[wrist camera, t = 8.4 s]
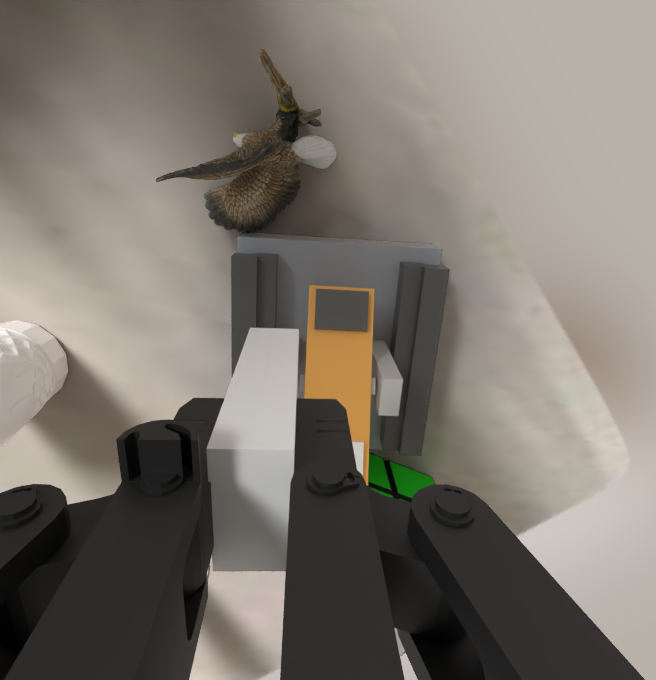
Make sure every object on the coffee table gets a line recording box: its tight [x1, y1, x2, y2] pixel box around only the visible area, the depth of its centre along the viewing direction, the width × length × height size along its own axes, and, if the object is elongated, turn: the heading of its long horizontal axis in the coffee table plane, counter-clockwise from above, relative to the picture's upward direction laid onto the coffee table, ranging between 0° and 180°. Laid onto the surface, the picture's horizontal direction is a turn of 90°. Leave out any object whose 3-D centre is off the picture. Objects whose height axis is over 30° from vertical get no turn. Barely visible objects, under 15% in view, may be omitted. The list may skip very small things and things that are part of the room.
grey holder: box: [231, 232, 449, 456], centre depth 31 cm, size 16×14×10 cm
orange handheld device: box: [300, 285, 375, 486], centre depth 28 cm, size 12×5×2 cm, turn 176°
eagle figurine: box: [156, 49, 338, 233], centre depth 29 cm, size 8×8×10 cm
